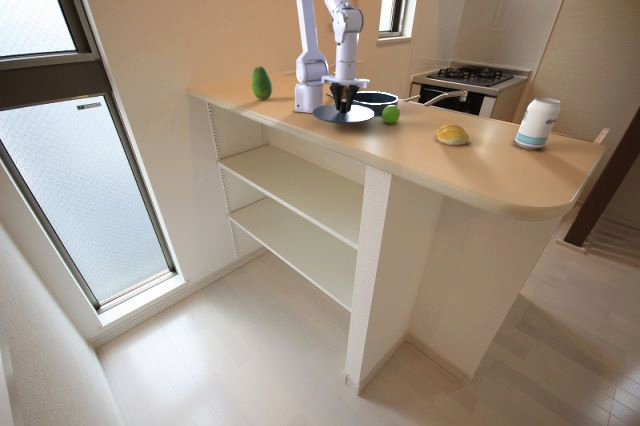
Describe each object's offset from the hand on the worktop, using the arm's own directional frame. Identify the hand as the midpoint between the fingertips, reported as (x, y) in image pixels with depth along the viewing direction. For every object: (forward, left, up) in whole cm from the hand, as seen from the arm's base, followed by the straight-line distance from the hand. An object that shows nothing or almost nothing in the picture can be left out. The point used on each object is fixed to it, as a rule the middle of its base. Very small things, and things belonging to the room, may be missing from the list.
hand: (343, 110), depth 91 cm
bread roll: (+32, -3, -5) cm, 32 cm away
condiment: (-10, +38, -5) cm, 40 cm away
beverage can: (+52, -1, -5) cm, 52 cm away
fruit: (-37, +21, -5) cm, 43 cm away
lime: (+14, +7, -2) cm, 16 cm away
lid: (0, 0, -1) cm, 1 cm away
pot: (+6, +22, -5) cm, 23 cm away
